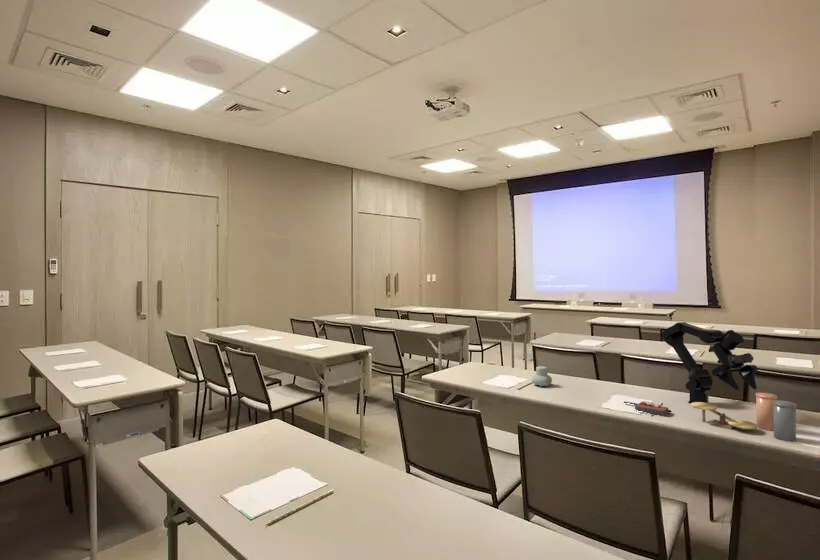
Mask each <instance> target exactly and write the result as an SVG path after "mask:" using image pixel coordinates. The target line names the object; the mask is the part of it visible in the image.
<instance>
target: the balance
mask: <svg viewBox="0 0 820 560" xmlns="http://www.w3.org/2000/svg"><path fill="white" fill-rule="evenodd" d="M690 406H691V407H692V408H694V409H697V410H702V411H701V413H702V415H701V417H702V419H701V420H702V421H701V422H703V423H706V411H709V412H711V413H713V414H715V415H717V416H719V419H713V420H712V421H710V422H709V423H710V424H709V425H710V426H714V427H718V428H723V429H728V430H733V429H734V428H738V429H740V431H745V430H755V429H757V423H754V422H752V421H750V420H749V421H748V420H744V419H734V418H731V417H729V416H728V415H726V414H725V413H724V412H723V413H721V412H720V411H717V410H718V405H715V404H714V403H713V404H712V403H704V402H692V403H690ZM726 420H728V421H726Z"/></svg>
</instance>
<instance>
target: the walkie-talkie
mask: <svg viewBox="0 0 820 560" xmlns="http://www.w3.org/2000/svg"><path fill="white" fill-rule="evenodd" d="M624 403H630V404H634V405H633V406H635V407H634V410H635V409H636V410H638V411H643V412H647V413H651V414H650V415H652V414H654V415H653V416H657V415H659V416H658V417H663V416H664V417H666V416H668V414H669V413H670V414H671V413H672V410H671V409H669V407H667V406H661V405H660V404H659V403H657V404H655V403H654V402H650V401H647V400H646V401H645V400H643V401H641V402H639V403H637V402H631V401H630V402H629V401H623V404H624ZM630 404H629V405H630ZM636 410H635V411H636ZM647 413H646V414H647Z"/></svg>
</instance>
